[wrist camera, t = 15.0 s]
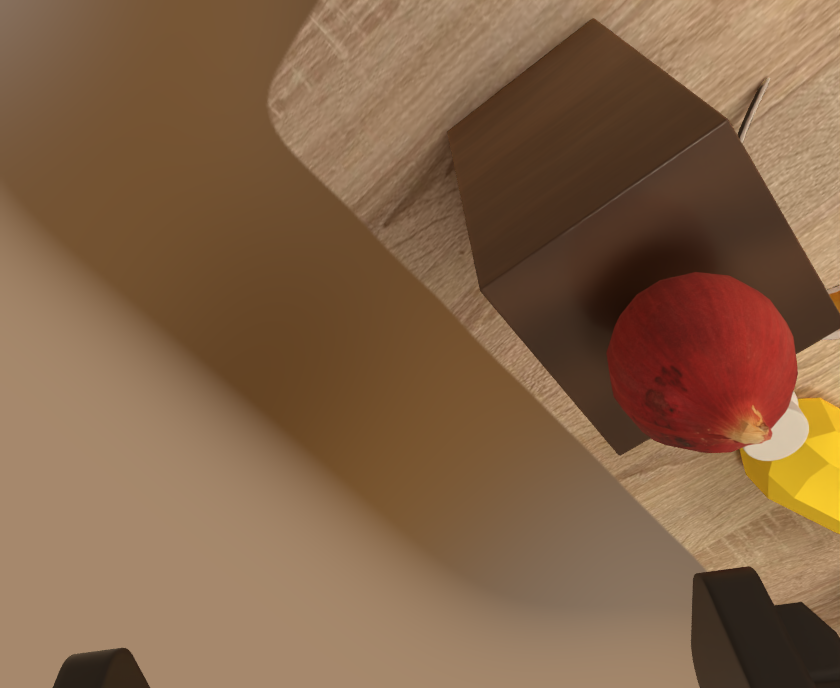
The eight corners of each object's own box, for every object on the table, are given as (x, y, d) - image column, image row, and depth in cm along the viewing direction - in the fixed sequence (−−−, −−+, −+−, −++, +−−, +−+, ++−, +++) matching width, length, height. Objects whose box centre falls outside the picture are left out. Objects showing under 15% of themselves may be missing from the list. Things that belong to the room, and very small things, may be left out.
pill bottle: (739, 318, 53) (794, 389, 46) (772, 363, 55) (829, 438, 48) (677, 358, 54) (721, 433, 47) (712, 401, 56) (759, 479, 49)
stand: (446, 131, 46) (479, 290, 29) (593, 17, 43) (728, 118, 26) (541, 254, 50) (619, 457, 33) (681, 158, 47) (847, 325, 30)
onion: (641, 398, 31) (711, 547, 25) (555, 303, 29) (606, 439, 22) (772, 312, 30) (887, 447, 23) (692, 203, 27) (793, 317, 20)
